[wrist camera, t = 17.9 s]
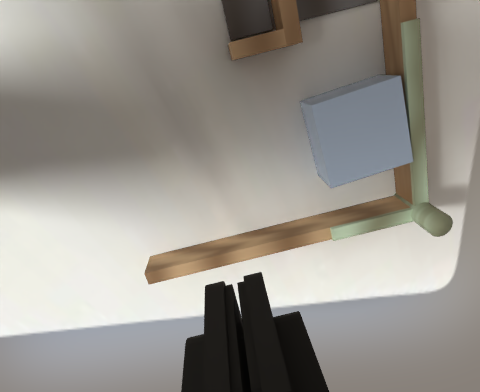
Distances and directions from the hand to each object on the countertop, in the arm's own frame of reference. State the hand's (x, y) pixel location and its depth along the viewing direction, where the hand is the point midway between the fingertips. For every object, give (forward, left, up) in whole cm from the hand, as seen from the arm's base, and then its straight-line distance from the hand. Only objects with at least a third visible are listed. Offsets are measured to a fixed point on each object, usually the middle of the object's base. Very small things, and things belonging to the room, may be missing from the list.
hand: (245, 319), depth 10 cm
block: (+11, -1, -22) cm, 25 cm away
